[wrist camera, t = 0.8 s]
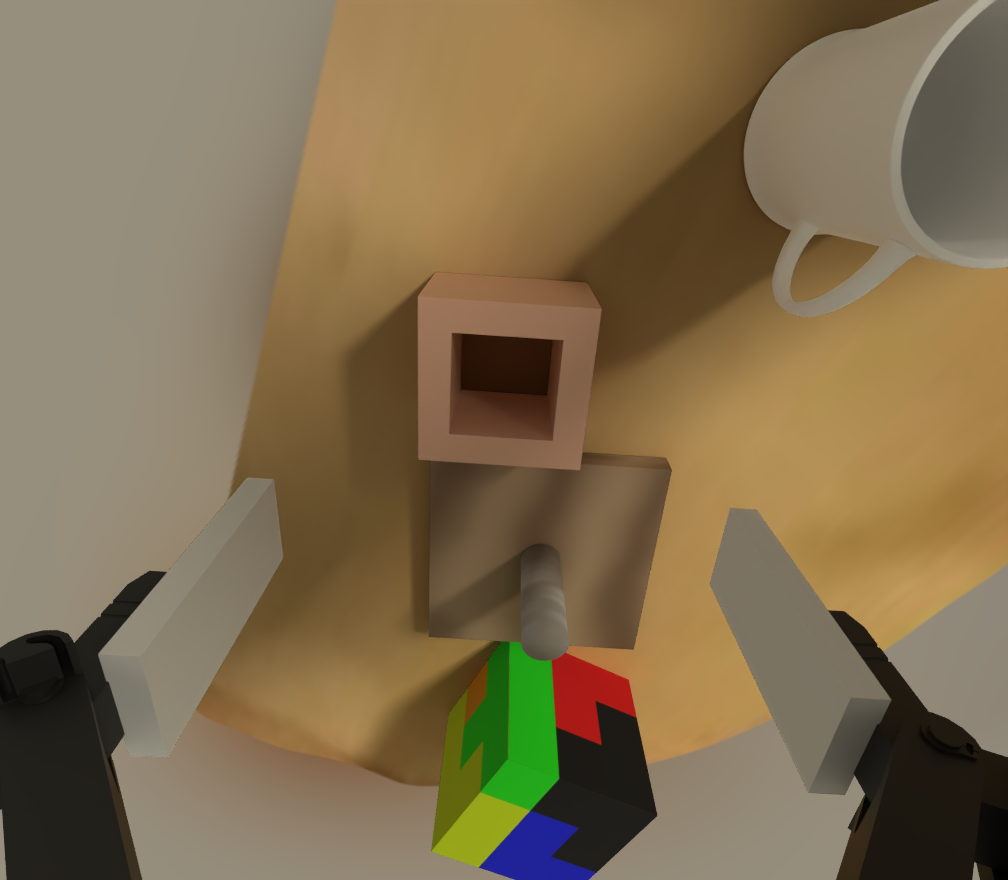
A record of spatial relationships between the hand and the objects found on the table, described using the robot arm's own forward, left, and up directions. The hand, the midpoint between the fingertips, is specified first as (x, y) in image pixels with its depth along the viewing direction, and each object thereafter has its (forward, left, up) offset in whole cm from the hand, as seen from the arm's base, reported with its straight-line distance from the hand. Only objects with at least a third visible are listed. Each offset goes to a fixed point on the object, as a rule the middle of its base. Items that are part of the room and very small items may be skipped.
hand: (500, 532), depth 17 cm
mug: (-14, -10, -17) cm, 24 cm away
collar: (0, 0, -17) cm, 17 cm away
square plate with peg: (-3, +13, -17) cm, 22 cm away
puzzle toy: (-4, +27, -17) cm, 32 cm away
